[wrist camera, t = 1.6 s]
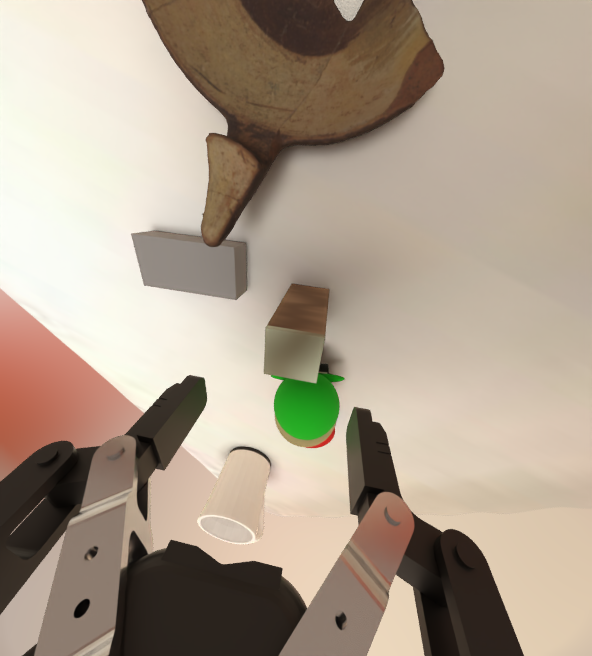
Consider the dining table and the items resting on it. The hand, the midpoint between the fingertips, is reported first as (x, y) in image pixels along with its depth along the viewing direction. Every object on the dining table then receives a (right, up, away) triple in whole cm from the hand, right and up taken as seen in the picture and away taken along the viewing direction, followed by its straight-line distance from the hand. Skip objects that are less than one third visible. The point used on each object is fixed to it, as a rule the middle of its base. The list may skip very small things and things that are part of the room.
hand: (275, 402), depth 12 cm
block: (+2, +7, +13) cm, 14 cm away
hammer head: (-9, +11, +12) cm, 19 cm away
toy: (+3, -5, +19) cm, 20 cm away
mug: (-7, -21, +30) cm, 37 cm away
